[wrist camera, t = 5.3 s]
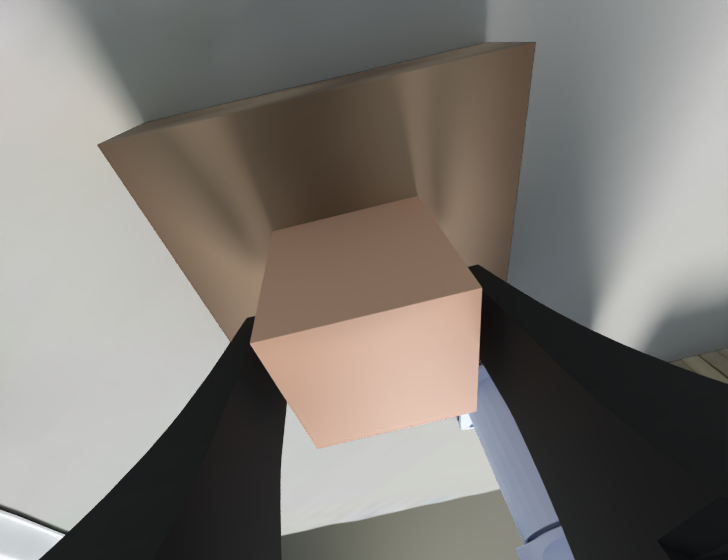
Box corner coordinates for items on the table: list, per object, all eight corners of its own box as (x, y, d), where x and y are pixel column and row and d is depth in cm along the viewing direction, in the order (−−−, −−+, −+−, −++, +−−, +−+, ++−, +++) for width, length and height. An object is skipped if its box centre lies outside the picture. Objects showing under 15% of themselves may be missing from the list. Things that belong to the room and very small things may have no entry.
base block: (485, 42, 11) (535, 42, 8) (474, 300, 18) (499, 339, 16) (144, 122, 11) (97, 144, 8) (270, 347, 18) (264, 393, 16)
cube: (417, 195, 11) (482, 288, 7) (428, 304, 14) (476, 411, 10) (272, 231, 11) (249, 343, 7) (315, 331, 14) (317, 448, 10)
